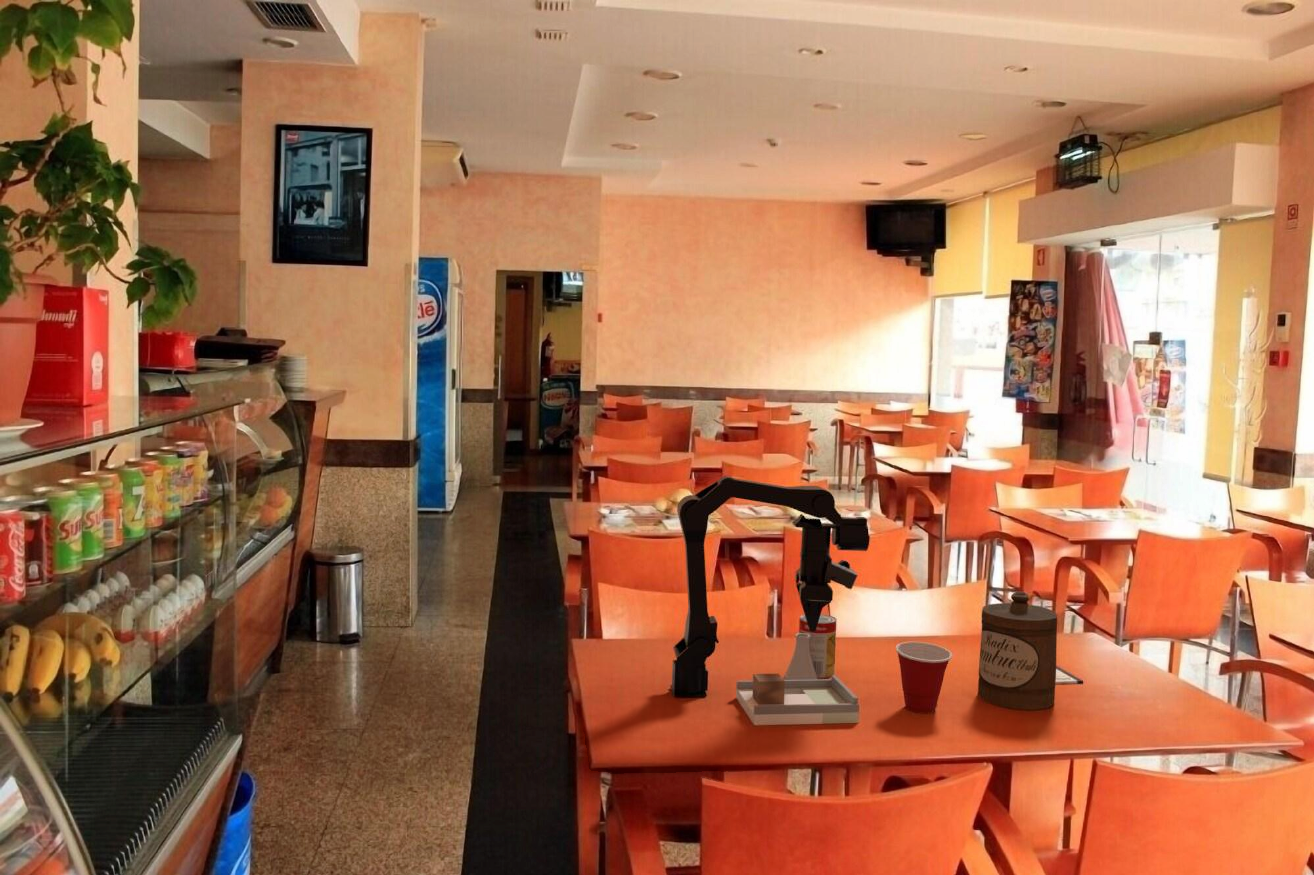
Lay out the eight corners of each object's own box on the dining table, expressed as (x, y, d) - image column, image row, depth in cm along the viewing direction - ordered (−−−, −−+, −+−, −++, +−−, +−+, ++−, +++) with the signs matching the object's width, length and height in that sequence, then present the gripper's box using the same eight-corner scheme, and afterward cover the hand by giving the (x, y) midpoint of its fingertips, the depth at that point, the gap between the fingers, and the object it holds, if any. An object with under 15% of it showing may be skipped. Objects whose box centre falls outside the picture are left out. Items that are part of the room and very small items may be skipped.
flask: (817, 688, 232) (819, 640, 231) (781, 685, 233) (783, 637, 232) (819, 678, 239) (821, 631, 238) (785, 675, 240) (786, 629, 239)
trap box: (754, 725, 208) (755, 701, 208) (736, 697, 224) (736, 675, 223) (858, 722, 211) (859, 699, 211) (833, 695, 227) (834, 674, 226)
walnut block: (758, 704, 214) (759, 681, 213) (752, 696, 219) (753, 673, 218) (784, 704, 214) (784, 681, 214) (777, 696, 219) (778, 673, 219)
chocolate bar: (1041, 657, 257) (1083, 680, 240) (1041, 661, 257) (1083, 685, 240) (1004, 658, 256) (1043, 681, 238) (1004, 662, 256) (1043, 686, 238)
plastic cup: (917, 721, 213) (920, 659, 212) (881, 704, 222) (884, 644, 221) (961, 713, 218) (964, 653, 217) (924, 697, 227) (926, 639, 226)
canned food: (833, 668, 246) (835, 614, 245) (835, 679, 238) (837, 623, 237) (797, 666, 247) (799, 612, 246) (798, 677, 239) (800, 621, 238)
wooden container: (963, 696, 229) (968, 589, 227) (1004, 683, 238) (1009, 581, 237) (1028, 715, 218) (1034, 604, 216) (1068, 701, 227) (1074, 594, 225)
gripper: (861, 560, 216) (856, 640, 217) (850, 543, 234) (846, 617, 236) (802, 557, 217) (798, 636, 218) (797, 540, 235) (793, 613, 236)
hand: (811, 625), depth 227 cm, fingers open, 9 cm apart
